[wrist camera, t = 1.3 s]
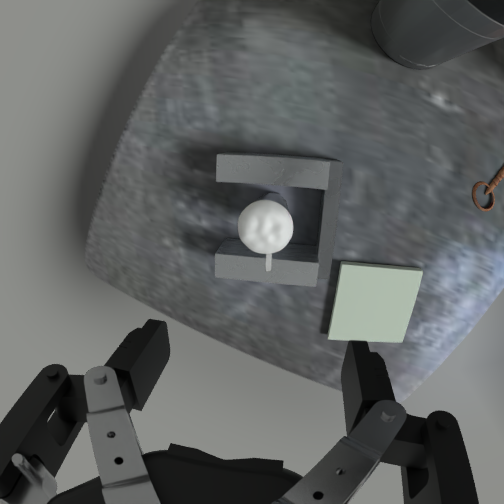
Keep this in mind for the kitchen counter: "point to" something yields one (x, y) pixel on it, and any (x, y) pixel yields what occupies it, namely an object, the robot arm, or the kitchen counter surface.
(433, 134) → the kitchen counter surface
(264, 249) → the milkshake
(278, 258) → the grey u-shaped bracket
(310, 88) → the kitchen counter surface
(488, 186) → the key
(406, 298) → the mat
